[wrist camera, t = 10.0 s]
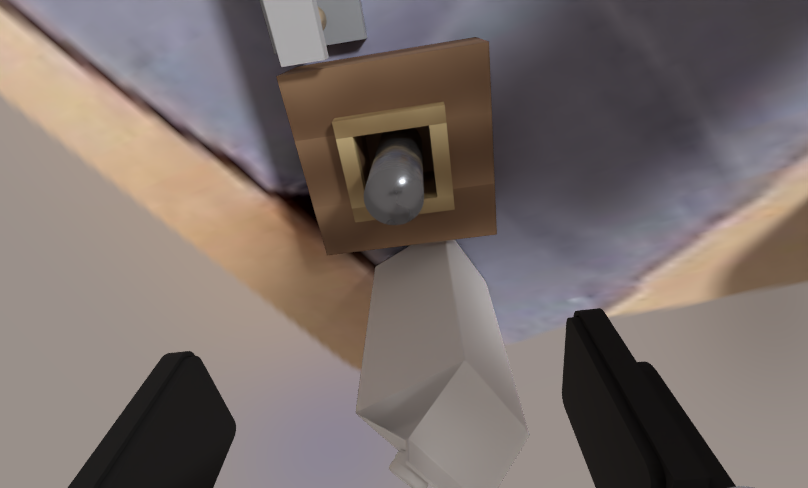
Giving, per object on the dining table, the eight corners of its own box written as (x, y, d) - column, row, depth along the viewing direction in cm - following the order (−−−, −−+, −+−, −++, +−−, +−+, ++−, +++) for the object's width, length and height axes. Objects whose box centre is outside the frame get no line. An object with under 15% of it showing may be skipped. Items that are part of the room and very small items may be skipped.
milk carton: (443, 223, 33) (477, 432, 16) (486, 282, 36) (552, 510, 19) (374, 265, 35) (343, 488, 19) (420, 317, 38) (429, 551, 21)
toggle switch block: (297, 66, 27) (270, 78, 22) (475, 37, 26) (491, 42, 21) (337, 223, 33) (324, 262, 28) (485, 204, 32) (499, 241, 27)
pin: (376, 125, 28) (358, 173, 19) (419, 119, 28) (420, 165, 19) (383, 166, 30) (369, 228, 21) (424, 161, 29) (427, 221, 21)
